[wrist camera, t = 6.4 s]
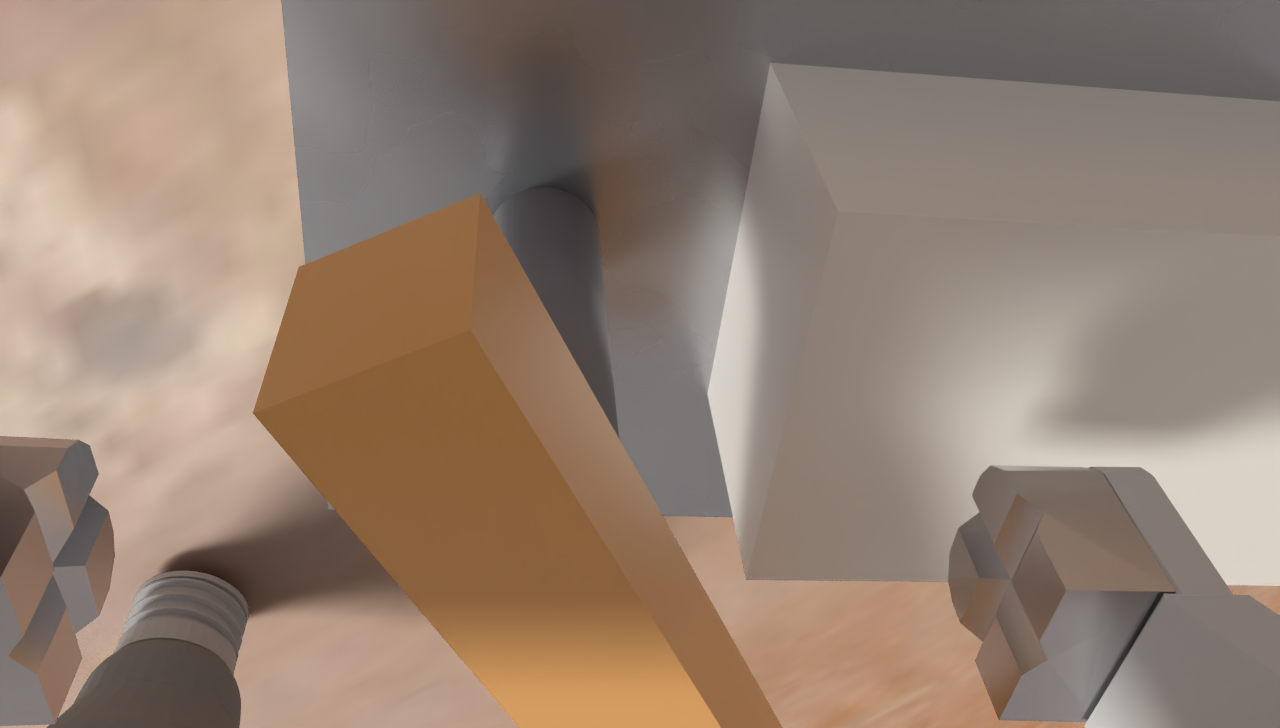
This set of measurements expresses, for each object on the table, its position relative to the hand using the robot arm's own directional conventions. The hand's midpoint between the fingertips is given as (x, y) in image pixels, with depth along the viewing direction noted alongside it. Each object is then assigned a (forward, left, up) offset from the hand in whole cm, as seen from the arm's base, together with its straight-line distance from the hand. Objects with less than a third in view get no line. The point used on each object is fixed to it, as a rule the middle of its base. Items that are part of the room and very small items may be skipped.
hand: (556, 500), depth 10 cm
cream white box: (-6, 0, -5) cm, 8 cm away
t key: (0, 0, -5) cm, 5 cm away
